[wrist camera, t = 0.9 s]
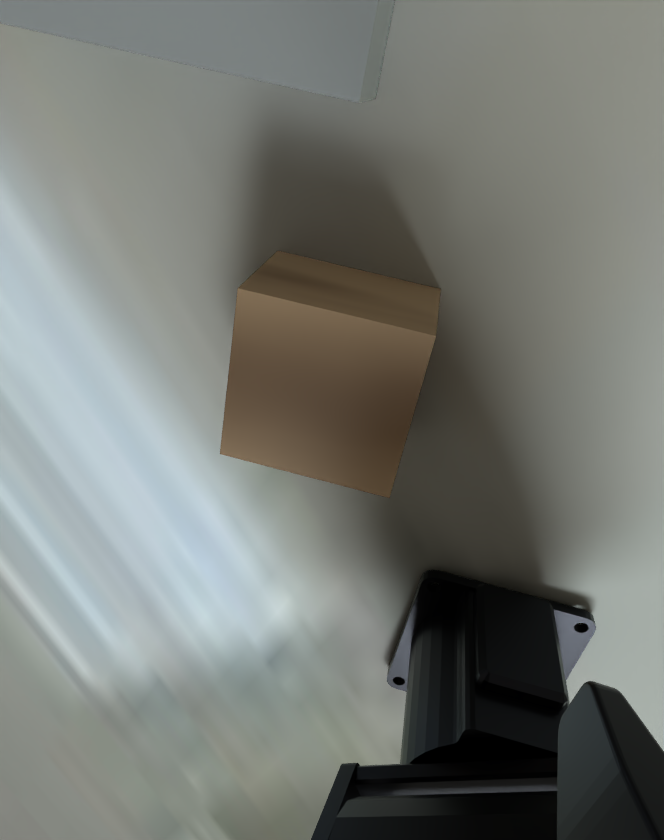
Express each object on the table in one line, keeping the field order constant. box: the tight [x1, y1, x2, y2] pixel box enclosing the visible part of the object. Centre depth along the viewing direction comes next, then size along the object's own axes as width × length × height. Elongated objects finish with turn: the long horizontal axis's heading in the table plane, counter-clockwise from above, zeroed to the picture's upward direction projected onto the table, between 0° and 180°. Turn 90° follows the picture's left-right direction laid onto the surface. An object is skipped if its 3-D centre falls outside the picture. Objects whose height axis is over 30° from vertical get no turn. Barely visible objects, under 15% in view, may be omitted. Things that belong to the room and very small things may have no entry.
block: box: [220, 251, 441, 498], centre depth 18 cm, size 5×5×4 cm
